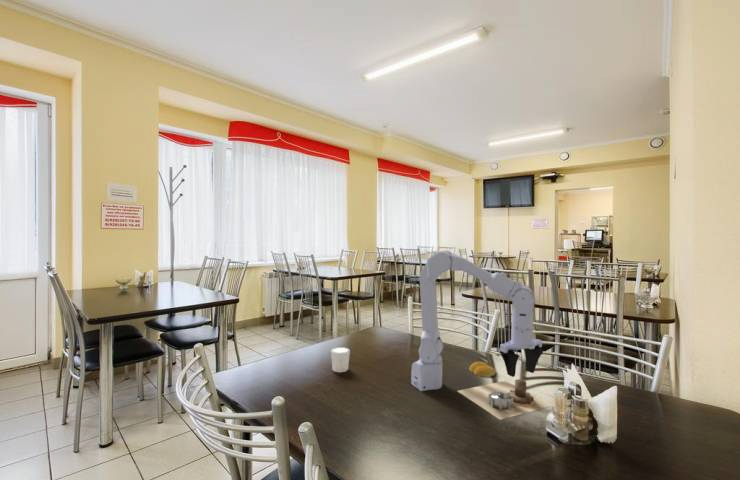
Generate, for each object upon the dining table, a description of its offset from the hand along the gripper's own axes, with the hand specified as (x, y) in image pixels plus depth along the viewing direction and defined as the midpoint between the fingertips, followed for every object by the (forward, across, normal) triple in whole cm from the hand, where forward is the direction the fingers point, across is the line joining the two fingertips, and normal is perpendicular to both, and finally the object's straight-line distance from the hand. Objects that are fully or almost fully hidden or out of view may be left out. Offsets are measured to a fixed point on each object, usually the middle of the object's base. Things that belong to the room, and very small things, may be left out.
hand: (520, 373), depth 103 cm
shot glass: (+9, -40, +44) cm, 61 cm away
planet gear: (+8, 0, 0) cm, 8 cm away
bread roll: (+9, +5, +21) cm, 24 cm away
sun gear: (+8, -8, 0) cm, 11 cm away
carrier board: (+9, -4, +3) cm, 10 cm away
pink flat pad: (+8, 0, 0) cm, 8 cm away
